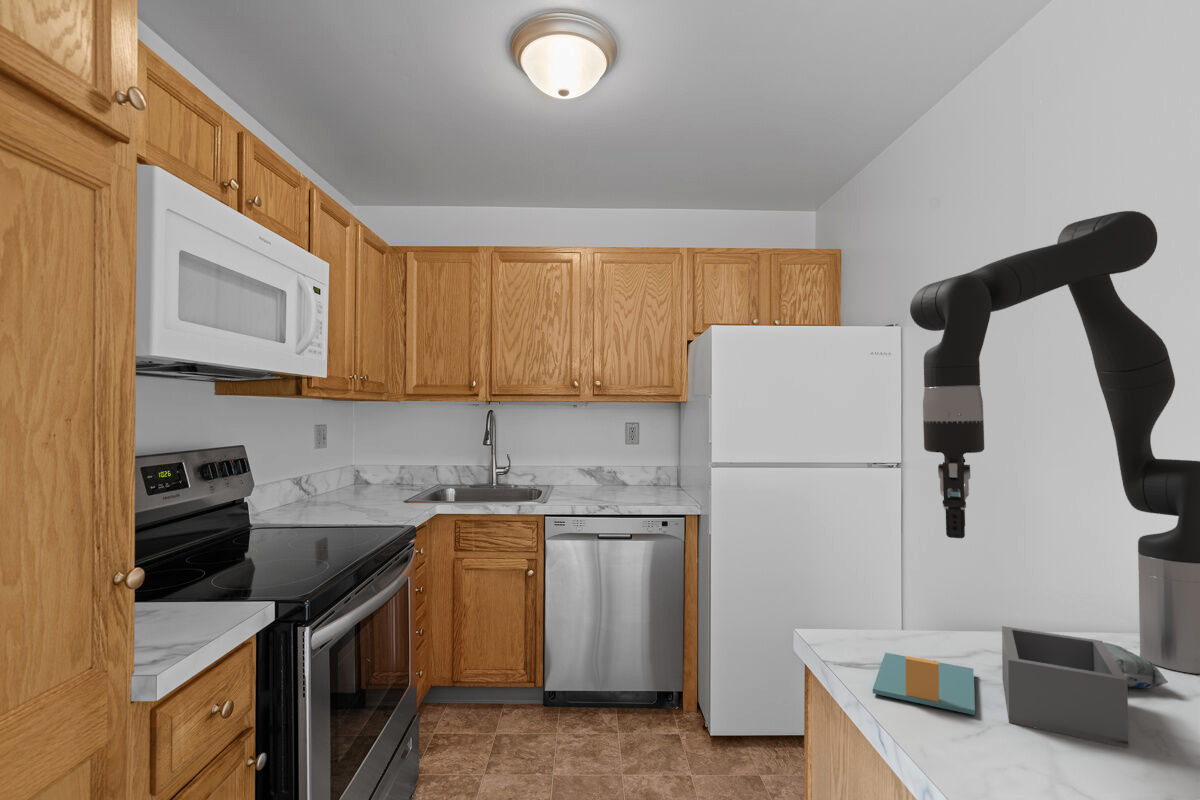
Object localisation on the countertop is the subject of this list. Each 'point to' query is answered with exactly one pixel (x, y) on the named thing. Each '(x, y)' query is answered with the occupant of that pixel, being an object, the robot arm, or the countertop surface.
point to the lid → (926, 682)
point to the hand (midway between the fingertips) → (956, 532)
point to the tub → (1064, 685)
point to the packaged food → (1136, 668)
